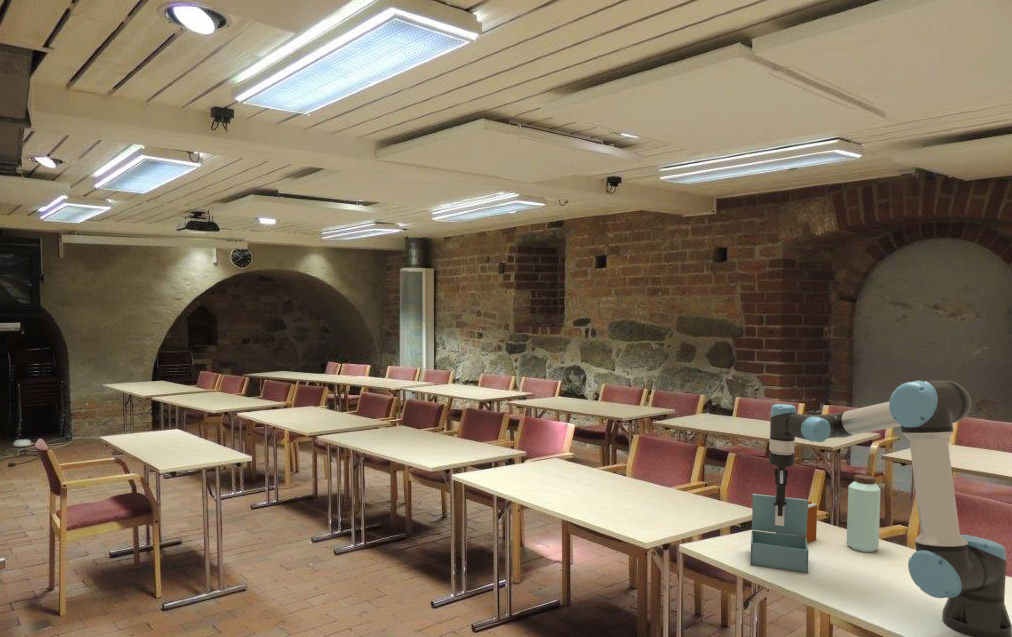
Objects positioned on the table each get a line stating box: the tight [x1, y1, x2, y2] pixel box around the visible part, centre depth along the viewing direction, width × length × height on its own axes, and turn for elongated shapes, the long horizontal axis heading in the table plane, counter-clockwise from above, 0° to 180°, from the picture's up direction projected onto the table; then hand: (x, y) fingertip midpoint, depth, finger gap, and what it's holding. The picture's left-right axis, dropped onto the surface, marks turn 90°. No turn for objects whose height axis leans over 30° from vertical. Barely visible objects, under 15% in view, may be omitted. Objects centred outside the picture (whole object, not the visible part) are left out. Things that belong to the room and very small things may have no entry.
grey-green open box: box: [750, 529, 809, 573], centre depth 228 cm, size 14×17×7 cm
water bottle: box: [846, 474, 881, 553], centre depth 243 cm, size 10×10×25 cm
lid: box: [751, 493, 809, 536], centre depth 233 cm, size 14×17×1 cm
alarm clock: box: [777, 500, 818, 544], centre depth 250 cm, size 15×8×14 cm, turn 130°
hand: (779, 524), depth 227 cm, fingers closed
